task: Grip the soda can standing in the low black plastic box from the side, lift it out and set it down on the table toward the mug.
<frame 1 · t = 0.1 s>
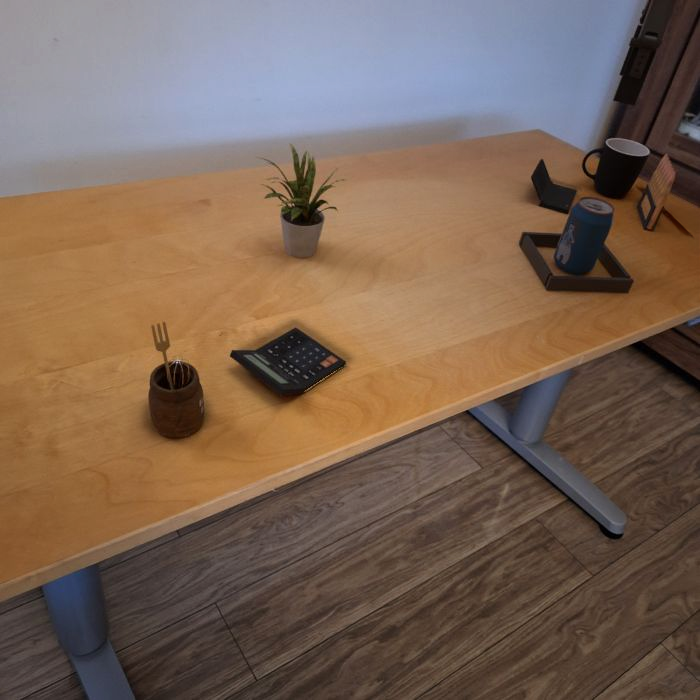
hand: (626, 89, 84), 31 cm above the table, tool pointing down, fingers open, 13 cm apart
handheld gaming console: (549, 198, 129), on the table
mug: (601, 191, 134), on the table
black box: (571, 267, 108), on the table
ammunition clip: (644, 219, 126), on the table
house plant: (294, 247, 103), on the table
calculator: (288, 368, 80), on the table
utensil holder: (178, 420, 71), on the table
soda can: (570, 268, 108), resting in black box
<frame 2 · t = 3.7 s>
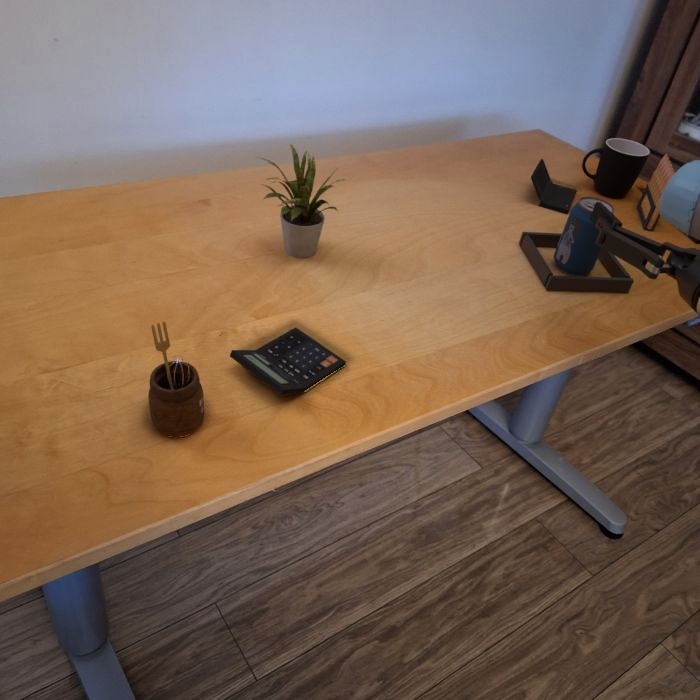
hand: (636, 212, 92), 15 cm above the table, tool horizontal, fingers open, 13 cm apart
nothing on the table moved.
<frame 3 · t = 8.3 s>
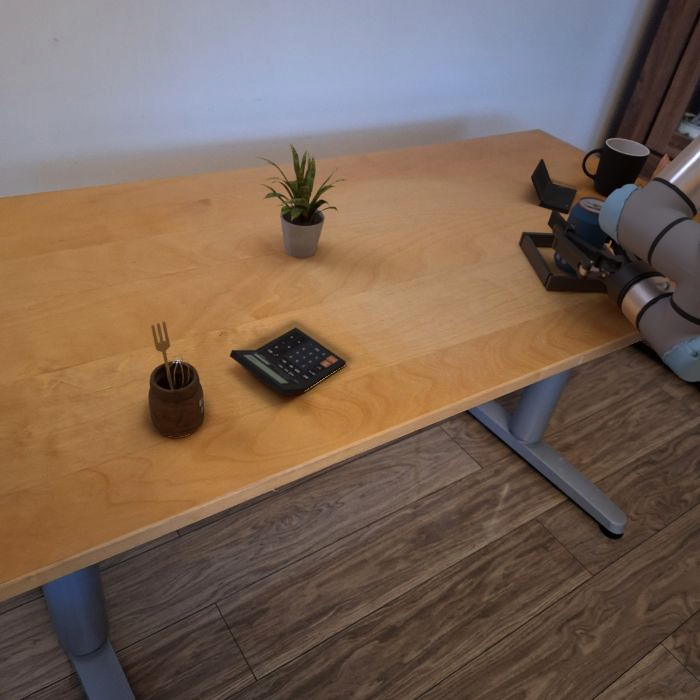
hand: (571, 217, 107), 7 cm above the table, tool horizontal, fingers closed on soda can, 7 cm apart
soda can: (570, 268, 108), resting in black box, touching gripper
everything else where it was.
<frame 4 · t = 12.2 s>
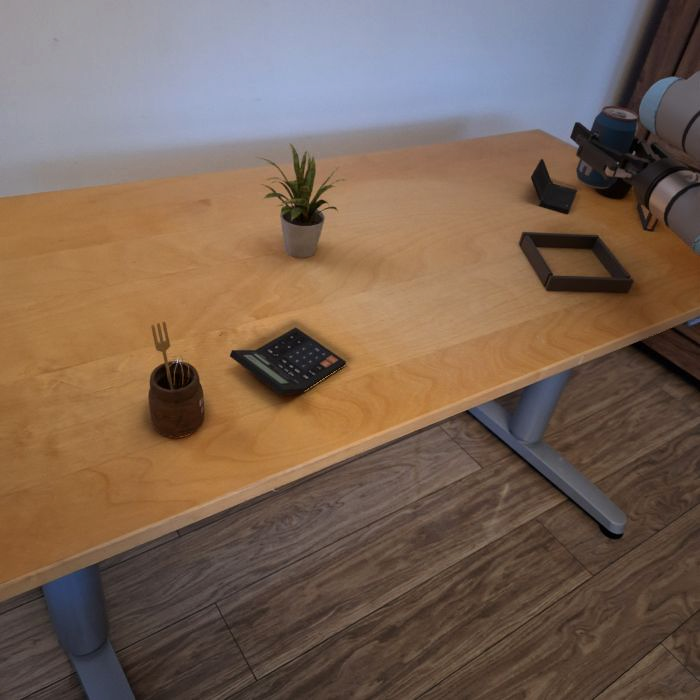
hand: (594, 130, 107), 19 cm above the table, tool horizontal, fingers closed on soda can, 7 cm apart
soda can: (593, 182, 108), point 11 cm above the table, touching gripper
everything else where it was.
when the fingers open (7 cm above the table, at t = 16.1 s): soda can stays where it is, on the table.
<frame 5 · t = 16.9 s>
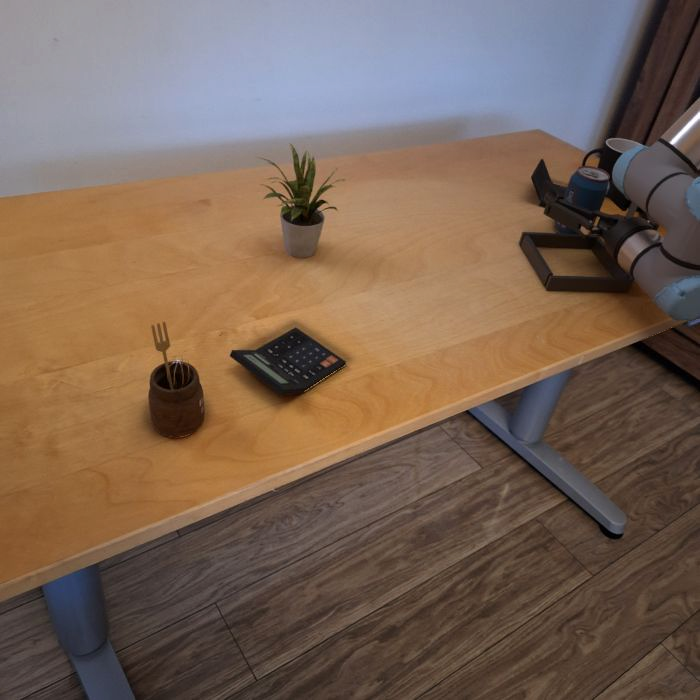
hand: (576, 187, 115), 8 cm above the table, tool horizontal, fingers open, 13 cm apart
soda can: (570, 232, 118), on the table
everything else where it was.
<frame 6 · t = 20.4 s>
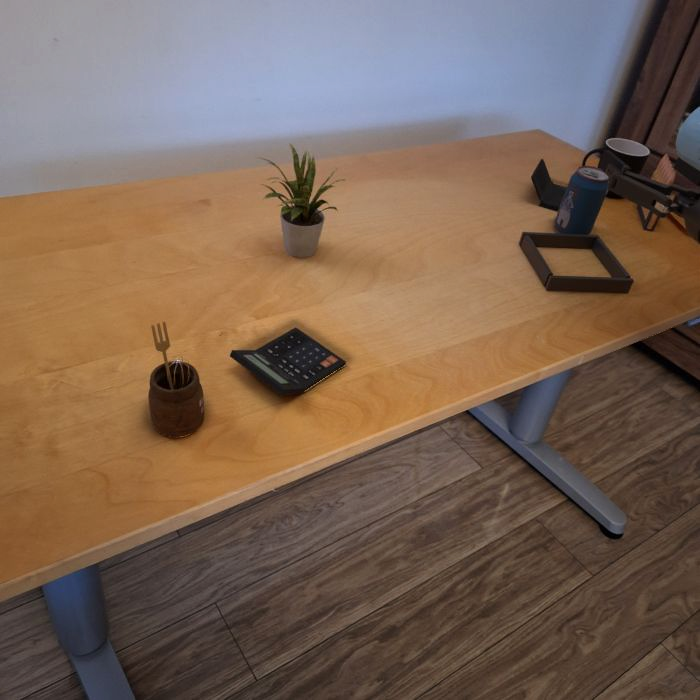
hand: (641, 159, 98), 19 cm above the table, tool horizontal, fingers open, 13 cm apart
nothing on the table moved.
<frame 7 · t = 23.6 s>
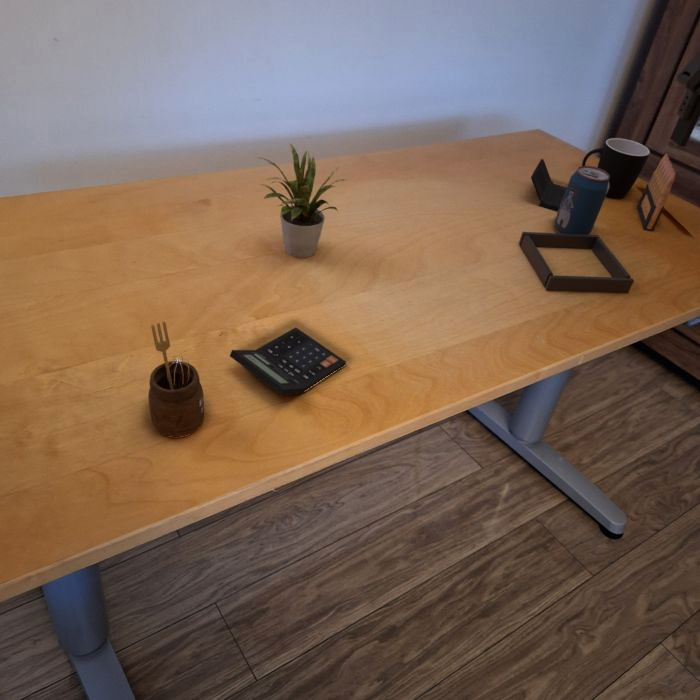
nothing on the table moved.
at the end: soda can inside the target area (0.0 cm from its centre), on the table; soda can tilted 0°; soda can 24.2 cm from the mug (horizontally) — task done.
